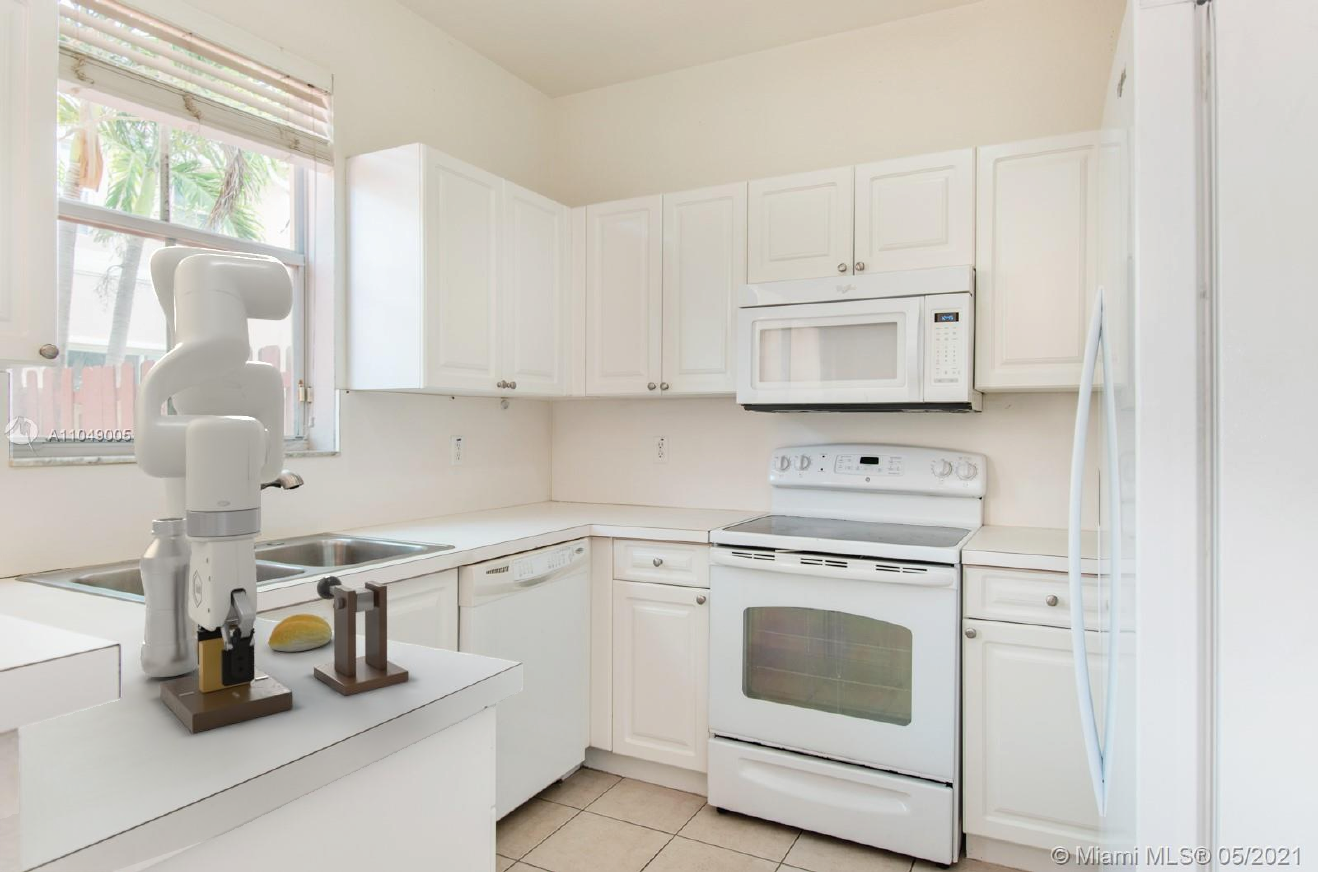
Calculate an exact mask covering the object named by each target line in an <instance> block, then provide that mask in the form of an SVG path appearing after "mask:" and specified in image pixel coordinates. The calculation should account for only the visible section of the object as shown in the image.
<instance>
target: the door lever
mask: <svg viewBox="0 0 1318 872" xmlns="http://www.w3.org/2000/svg"><path fill="white" fill-rule="evenodd" d="M342 583H343V582H342V581H341V579H339V577H337V576H335V575H327V576H324V577H322V578H321V579H320V580H319V581H318V583H317V585H316V593H317V594H318V597H320V598H322V599H323V600H326V601H327V600H328V601H331V600H334V586H338V585H343V584H342ZM352 589H353V588H352ZM353 590H356V613H362V612H365V611H369V610H373V609H374V592H373V591H372V590H369V589H366V588H365V587H359V588H354V589H353Z"/></svg>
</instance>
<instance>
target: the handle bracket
mask: <svg viewBox="0 0 1318 872" xmlns="http://www.w3.org/2000/svg"><path fill="white" fill-rule="evenodd" d="M364 588H366V589H369V590H372V591H373V592H374V609H373V610H369V611H364V656H363V655H362V656H358V657H357V612H356V590H353V588H351V587H348V586H345V585H343V584H342V585H338V586H334V599H333V632H334V633H333V649H334V650H333V658H334V659H333V662H330V663H325V664H321V665H316V666H313V676H314V677H315V678H317V679H318V680H320V681H322V682H323V683H325V684H326V685H328V686H329V687H331V688H332V689H334V690H336V691H337V692H339V693H341V694H342V695H344V696H351V695H354V694H359V693H362V692H367V691H370V690H376V689H380V688H384V687H386V686H387V687H388V686H391V685H395V684H399V683H403V682H407V681H409V680H410V679H409V670H407V669H406V668H404V667H401V666H399V665H397V664H395V663H393V662H392V661H389V660H388V585H386V584H383V583H380V582H377V581H374V580H365V582H364Z"/></svg>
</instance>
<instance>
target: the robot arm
mask: <svg viewBox="0 0 1318 872" xmlns="http://www.w3.org/2000/svg"><path fill="white" fill-rule="evenodd" d="M148 263H149V264H148V268H149V269H148V270H149V271H148V272H149V279H150V282H151V285H152V288H153V289H152V290H153V292H154V294H155V296H156V299H157V302H158V303H159V306H160V308H161V309H162V312H163V314H164V316H165V319H166V321H167V325H168V328H169V329H168V330H169V335H170V337H169V338H170V351H169V352H168V353H166V354H165V355H163V356H162V357H161V358H160V359H159V360H158V361H156V362H155V363H154V365H152V367H150V369H149V370H148V371H147V372H146V374H145V375H144V377H143V378H142V380H141V382H140V384H139V386H138V388H137V391H136V394H135V398H134V399H135V401H134V408H133V409H134V410H133V411H134V412H133V420H134V421H133V449H134V457H135V461H136V463H137V466H138V467H139V470H141V471H142V472H143V473H144V474H145V475H148V476H150V477H152V478H158V479H163V481H164V489H165V497H166V515H167V516H166V518H186V533H185V534H184V535H185V538H186V540H188V542H189V543H190V544H191V545H192V547H191V557H190V573H189V597H188V614H189V616H190V618H191V619H192V620H194V621H195V622H196V628H197V635H198V665H197V666H199V642H200V641H206V640H212V639H218V638H223V641H224V646H225V649H224V650H221V681H222V685H223V686H225V687H226V686H231V685H236V684H241V683H245V682H250V681H253V680H254V677H255V672H254V665H255V645H256V640H255V635H254V634H255V633H256V631H255V630H256V629H255V627H254V623H255V621H256V619H257V613H258V611H257V610H258V584H257V582H258V581H257V563H256V550H255V549H256V548H255V542H254V541H255V539H254V538H259V537H260V536H262V500H261V499H262V487H261V486H262V485H263V484H271V483H273V482H275V481H278V480H279V478H280V477H281V475H282V472H283V470H284V461H285V386H284V385H285V384H284V381H283V376H282V374H281V372H280V370H279V369H278V368H277V367H276V366H275V365H273V364H272V363H268V362H264V361H263V362H262V361H251V360H250V361H249V358H250V354H251V345H250V333H249V323H248V319H254V320H267V321H282V320H285V319H286V318H287V317H289V315H290V313H291V311H292V308H293V304H294V303H293V302H294V288H293V282H292V278H291V276H290V273H289V271H288V269H287V267H286V265H285V264H283V262H281V261H280V260H278V259H277V258H276V257H273V256H269V255H264V254H256V253H255V254H254V253H246V252H238V251H227V250H220V249H214V248H213V249H212V248H203V247H195V246H166V247H161V248H158V249H156V250H155V251H153V252H152V253H151V255H150V257H149V262H148ZM170 398H171V403H172V406H173V409H174V410H175V413H177V414H162V407H163V405H164V404H165V402H166V401H167V400H168V399H170ZM231 631H232V633H231ZM231 636H232V637H231Z"/></svg>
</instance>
